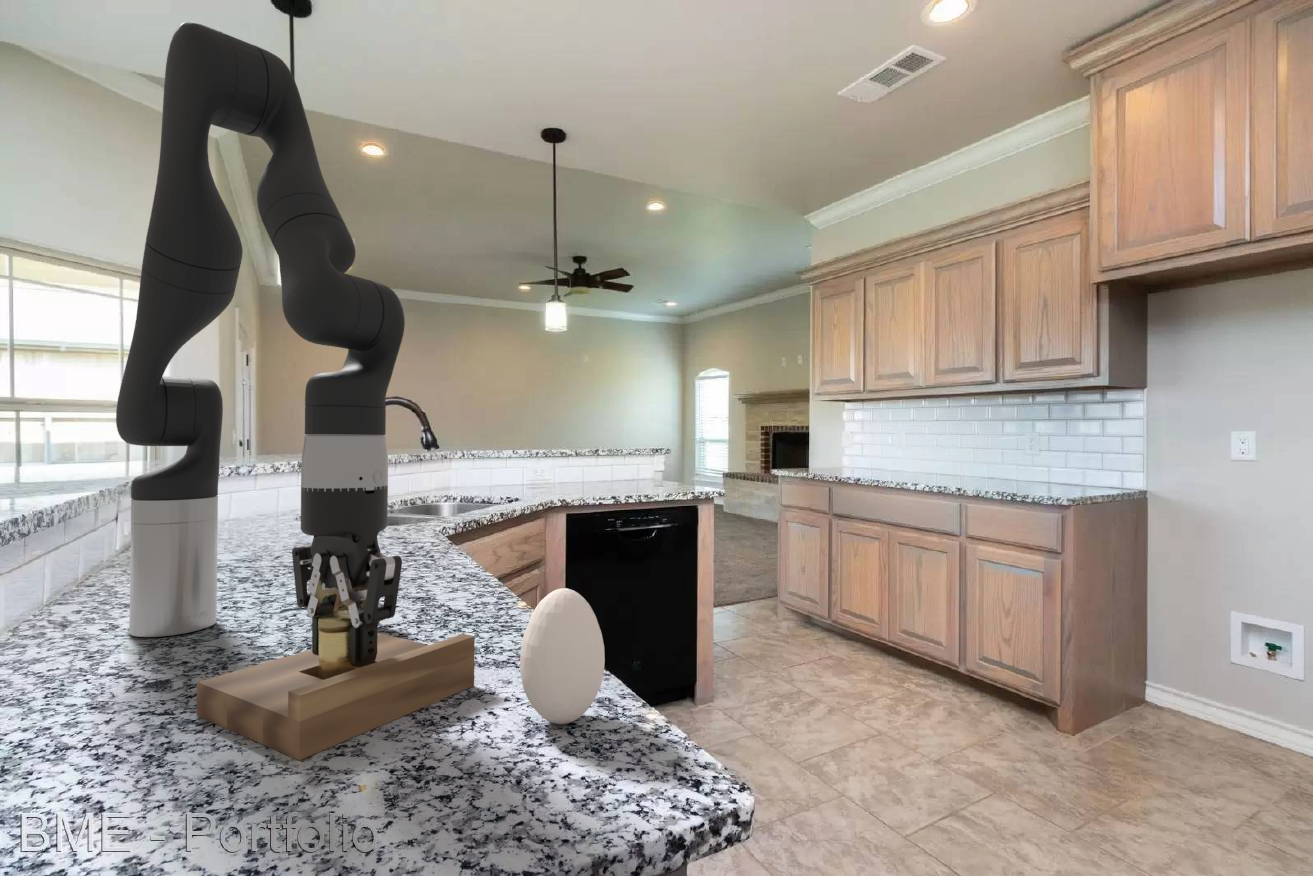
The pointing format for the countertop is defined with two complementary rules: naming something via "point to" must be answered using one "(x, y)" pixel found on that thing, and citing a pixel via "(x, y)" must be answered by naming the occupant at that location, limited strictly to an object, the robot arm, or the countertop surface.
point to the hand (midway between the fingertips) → (343, 658)
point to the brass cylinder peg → (335, 644)
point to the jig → (334, 694)
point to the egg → (562, 657)
